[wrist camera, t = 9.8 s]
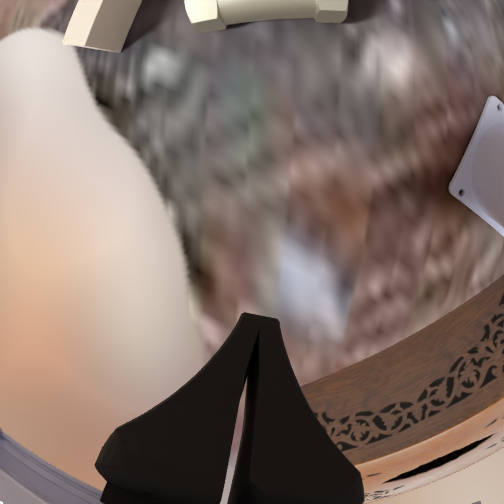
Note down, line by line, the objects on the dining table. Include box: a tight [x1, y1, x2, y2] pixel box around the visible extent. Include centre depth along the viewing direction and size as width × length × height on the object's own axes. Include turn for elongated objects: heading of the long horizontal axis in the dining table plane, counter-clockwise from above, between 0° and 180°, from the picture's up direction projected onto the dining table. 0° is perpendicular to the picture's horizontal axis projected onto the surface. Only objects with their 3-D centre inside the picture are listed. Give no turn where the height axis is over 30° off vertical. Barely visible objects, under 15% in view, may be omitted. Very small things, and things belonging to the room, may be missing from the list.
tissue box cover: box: [300, 275, 504, 504], centre depth 20 cm, size 26×14×10 cm, turn 128°
